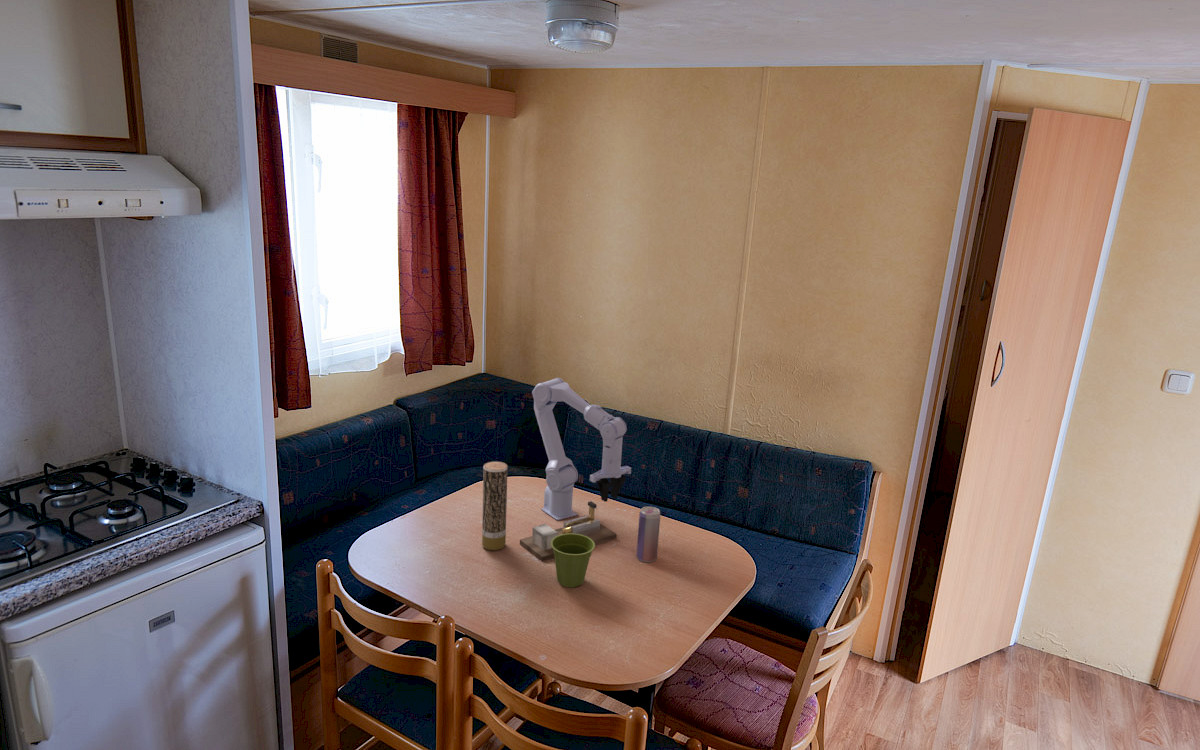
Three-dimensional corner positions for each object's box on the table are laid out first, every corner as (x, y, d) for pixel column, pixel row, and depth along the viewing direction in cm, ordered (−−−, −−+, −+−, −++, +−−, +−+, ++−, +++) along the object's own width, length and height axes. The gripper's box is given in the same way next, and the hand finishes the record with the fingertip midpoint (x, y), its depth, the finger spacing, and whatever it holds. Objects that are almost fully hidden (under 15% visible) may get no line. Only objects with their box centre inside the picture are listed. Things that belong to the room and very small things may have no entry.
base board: (519, 544, 220) (519, 539, 220) (593, 523, 236) (593, 518, 236) (541, 561, 211) (542, 556, 211) (616, 538, 227) (616, 534, 227)
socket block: (532, 541, 219) (532, 527, 218) (545, 537, 222) (545, 523, 221) (544, 550, 214) (544, 536, 213) (557, 546, 217) (557, 532, 216)
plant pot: (554, 595, 195) (555, 556, 192) (545, 572, 206) (546, 534, 203) (597, 590, 198) (600, 552, 195) (586, 568, 209) (588, 531, 206)
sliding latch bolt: (561, 534, 223) (562, 508, 221) (590, 526, 229) (592, 500, 227) (566, 538, 221) (567, 512, 219) (596, 529, 227) (597, 504, 225)
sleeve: (563, 533, 225) (563, 521, 224) (589, 526, 231) (590, 514, 230) (572, 540, 221) (573, 528, 220) (599, 532, 227) (600, 520, 226)
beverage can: (632, 559, 215) (636, 511, 211) (641, 551, 220) (645, 504, 216) (651, 565, 212) (655, 516, 209) (660, 556, 218) (664, 509, 214)
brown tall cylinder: (507, 541, 221) (509, 462, 215) (502, 552, 215) (504, 471, 208) (485, 539, 222) (486, 460, 215) (479, 550, 215) (480, 469, 209)
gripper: (600, 466, 219) (598, 509, 222) (638, 457, 227) (635, 498, 231) (586, 458, 224) (584, 500, 228) (624, 450, 233) (621, 490, 236)
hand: (609, 499), depth 229 cm, fingers open, 3 cm apart
